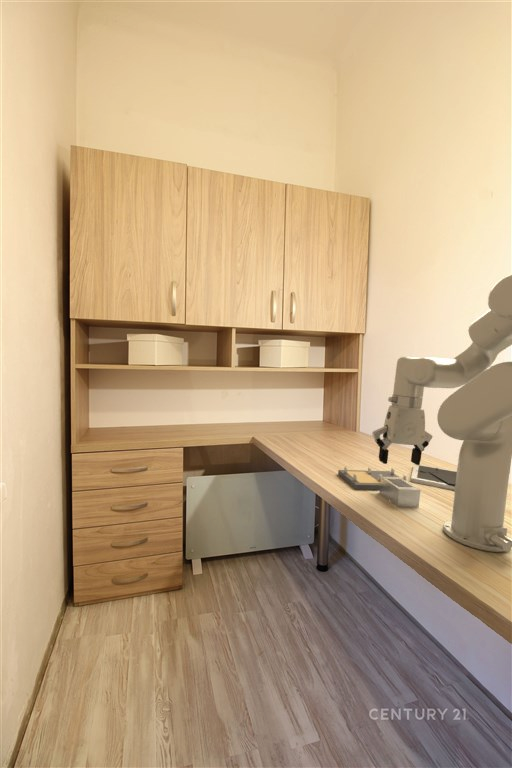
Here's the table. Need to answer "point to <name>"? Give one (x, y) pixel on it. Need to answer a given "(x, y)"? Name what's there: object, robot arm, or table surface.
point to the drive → (399, 492)
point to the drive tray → (366, 478)
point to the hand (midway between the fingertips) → (399, 462)
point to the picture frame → (434, 476)
